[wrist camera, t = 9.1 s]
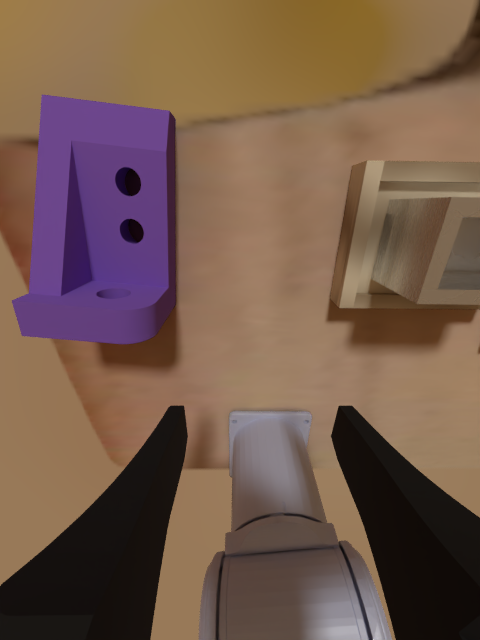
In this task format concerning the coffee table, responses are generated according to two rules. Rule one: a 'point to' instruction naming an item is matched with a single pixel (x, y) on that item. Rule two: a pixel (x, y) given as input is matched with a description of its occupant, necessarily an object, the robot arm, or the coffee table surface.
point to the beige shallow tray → (368, 218)
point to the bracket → (101, 224)
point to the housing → (431, 250)
